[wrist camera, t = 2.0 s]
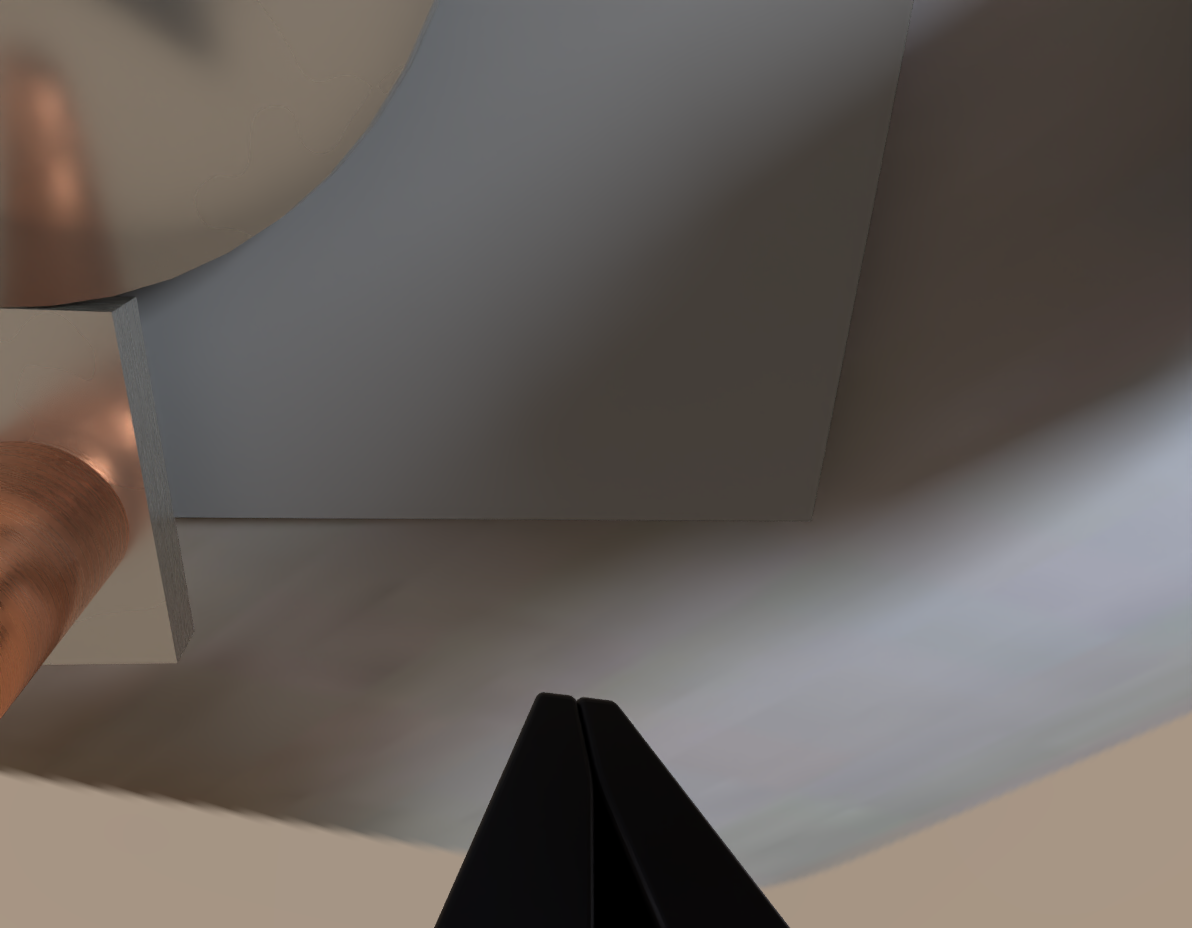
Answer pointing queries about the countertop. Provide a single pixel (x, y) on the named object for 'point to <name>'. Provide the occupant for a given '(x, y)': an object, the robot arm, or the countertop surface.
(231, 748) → the countertop surface
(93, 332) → the flange plate
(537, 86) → the slate board
